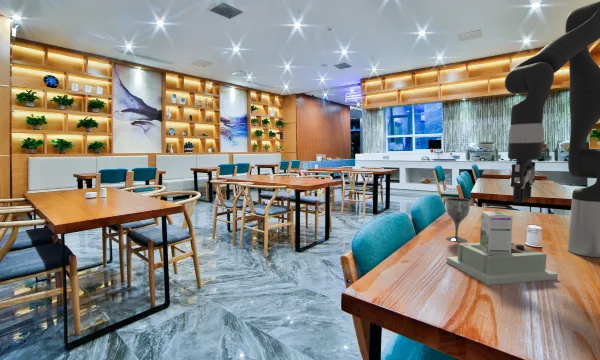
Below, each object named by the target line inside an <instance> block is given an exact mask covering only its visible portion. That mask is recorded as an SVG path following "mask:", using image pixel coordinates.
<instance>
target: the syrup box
mask: <svg viewBox="0 0 600 360" xmlns="http://www.w3.org/2000/svg"><path fill="white" fill-rule="evenodd" d="M480 213H481V214H480V230H479V231H480V236H479V243H480V250H481V251H483V252H486V253H488V254H491V255H495V254H511V242H512V233H513V232H512V231H513V215H510V214H509V213H505V212H503V211H496V210H495V211H493V210H489V211H481V212H480Z"/></svg>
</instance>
